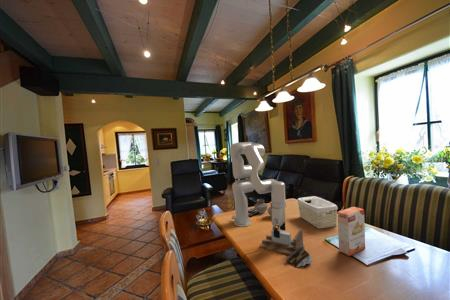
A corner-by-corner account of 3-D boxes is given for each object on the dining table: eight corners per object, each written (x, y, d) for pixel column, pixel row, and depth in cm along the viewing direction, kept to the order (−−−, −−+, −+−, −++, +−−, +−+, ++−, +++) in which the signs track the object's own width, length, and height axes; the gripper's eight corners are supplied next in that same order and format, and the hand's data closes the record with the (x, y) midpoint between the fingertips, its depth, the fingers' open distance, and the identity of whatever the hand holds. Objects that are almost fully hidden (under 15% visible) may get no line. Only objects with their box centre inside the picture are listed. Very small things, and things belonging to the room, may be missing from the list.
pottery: (274, 221, 141) (273, 205, 140) (251, 212, 162) (250, 198, 161) (284, 217, 147) (283, 202, 146) (261, 209, 168) (260, 195, 167)
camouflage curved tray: (295, 272, 86) (311, 251, 87) (284, 260, 92) (300, 240, 93) (303, 278, 90) (319, 258, 91) (293, 266, 97) (307, 247, 98)
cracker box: (350, 257, 93) (348, 214, 92) (338, 251, 98) (336, 211, 98) (366, 248, 99) (364, 208, 98) (354, 243, 105) (352, 205, 104)
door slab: (271, 243, 109) (271, 231, 108) (273, 240, 111) (273, 229, 111) (289, 247, 103) (288, 235, 103) (291, 245, 105) (290, 232, 105)
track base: (259, 247, 107) (258, 231, 107) (269, 236, 119) (268, 222, 118) (296, 257, 96) (295, 239, 95) (303, 244, 107) (302, 228, 107)
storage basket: (340, 227, 125) (338, 204, 124) (317, 230, 122) (316, 207, 122) (316, 214, 148) (315, 195, 148) (297, 217, 146) (296, 198, 145)
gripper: (277, 198, 116) (278, 226, 117) (266, 207, 102) (267, 238, 103) (289, 200, 111) (290, 228, 112) (280, 210, 97) (281, 242, 98)
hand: (279, 233), depth 107 cm, fingers open, 9 cm apart
